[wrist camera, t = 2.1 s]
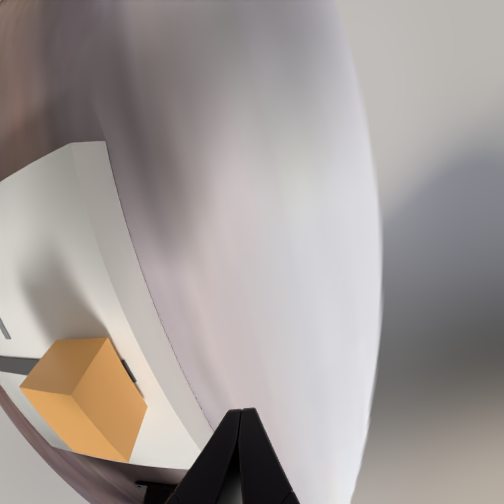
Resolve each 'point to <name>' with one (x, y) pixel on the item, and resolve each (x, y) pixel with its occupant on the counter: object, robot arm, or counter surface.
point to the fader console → (87, 297)
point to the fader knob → (87, 397)
